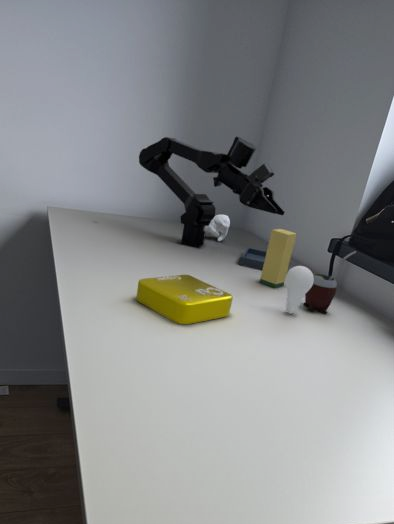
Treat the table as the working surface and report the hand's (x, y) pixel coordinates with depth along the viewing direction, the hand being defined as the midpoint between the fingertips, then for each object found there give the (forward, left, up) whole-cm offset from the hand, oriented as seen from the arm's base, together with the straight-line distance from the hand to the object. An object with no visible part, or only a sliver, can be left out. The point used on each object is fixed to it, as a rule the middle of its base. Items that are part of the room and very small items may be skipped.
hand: (280, 213), depth 139 cm
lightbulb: (+9, -38, -16) cm, 42 cm away
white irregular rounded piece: (-22, +23, -16) cm, 36 cm away
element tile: (-13, -51, -16) cm, 55 cm away
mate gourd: (+15, -30, -16) cm, 37 cm away
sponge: (+3, -17, -16) cm, 23 cm away
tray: (-1, +4, -16) cm, 17 cm away
